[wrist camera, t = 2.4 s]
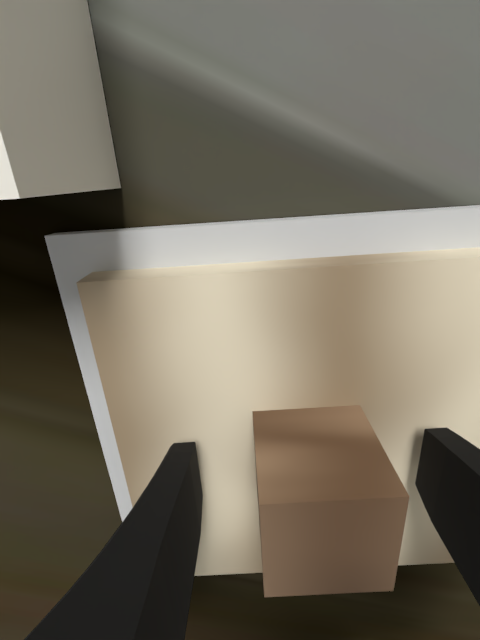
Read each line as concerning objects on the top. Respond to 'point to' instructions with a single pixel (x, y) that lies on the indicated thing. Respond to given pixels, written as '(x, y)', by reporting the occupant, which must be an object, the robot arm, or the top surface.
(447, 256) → the lid
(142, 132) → the top surface
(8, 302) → the top surface
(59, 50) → the white box
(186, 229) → the mat
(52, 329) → the top surface
